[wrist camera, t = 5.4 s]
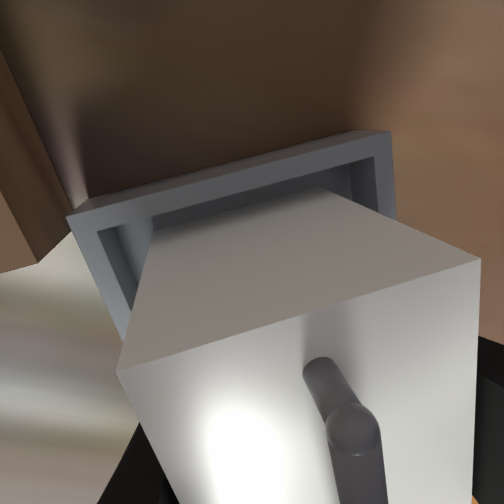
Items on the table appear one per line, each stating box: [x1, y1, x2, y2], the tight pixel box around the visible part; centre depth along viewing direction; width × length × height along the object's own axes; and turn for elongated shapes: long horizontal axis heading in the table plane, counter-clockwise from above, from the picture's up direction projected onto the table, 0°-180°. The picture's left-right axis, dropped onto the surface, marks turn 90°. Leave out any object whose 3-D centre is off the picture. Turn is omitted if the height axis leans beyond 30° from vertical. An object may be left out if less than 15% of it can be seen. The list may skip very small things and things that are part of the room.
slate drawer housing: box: [66, 130, 397, 342], centre depth 11 cm, size 8×10×2 cm
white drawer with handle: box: [115, 186, 481, 504], centre depth 8 cm, size 5×7×7 cm
